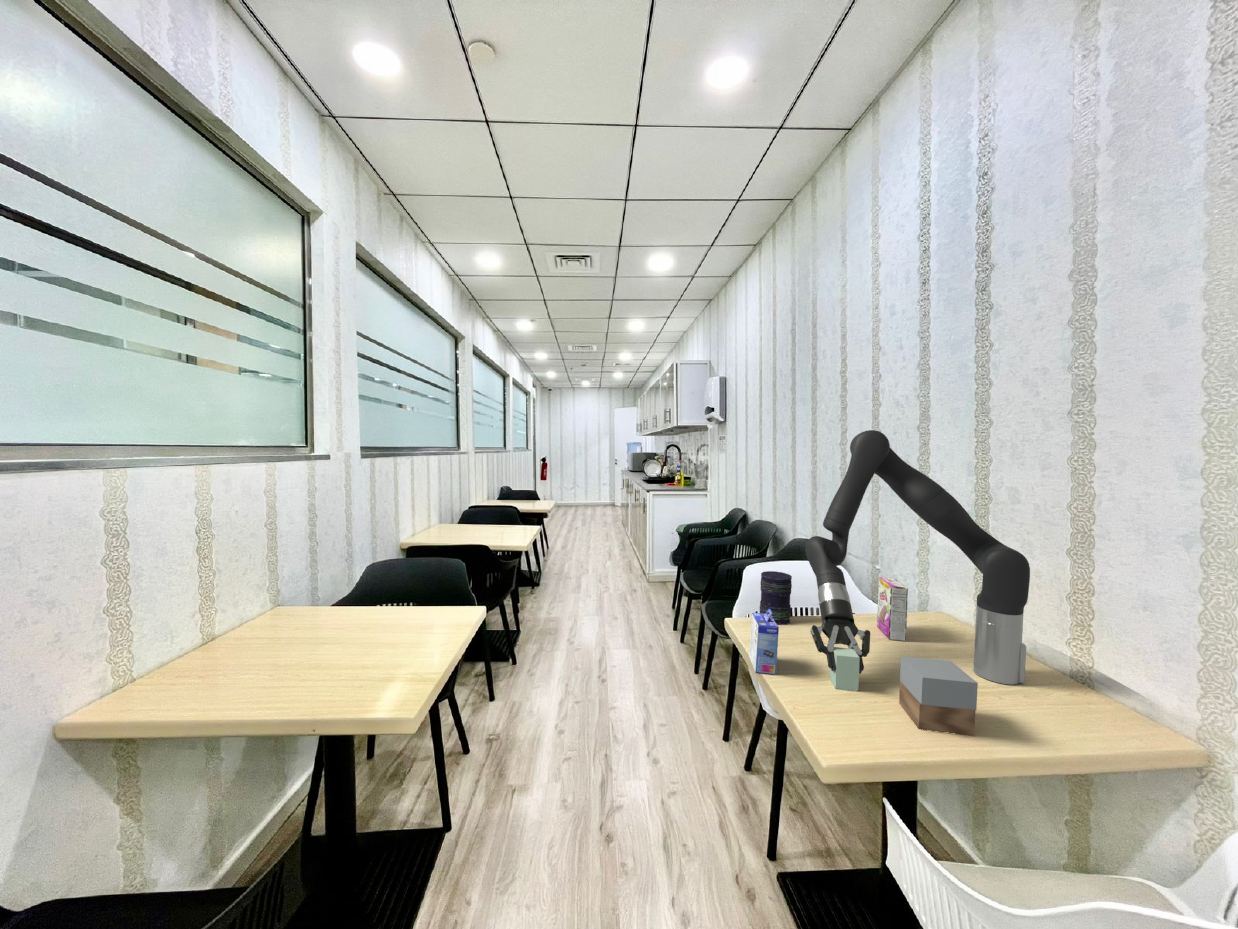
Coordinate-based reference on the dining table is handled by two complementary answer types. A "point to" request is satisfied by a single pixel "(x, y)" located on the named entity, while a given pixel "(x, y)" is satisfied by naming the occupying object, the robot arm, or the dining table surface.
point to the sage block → (845, 669)
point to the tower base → (937, 715)
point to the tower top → (938, 683)
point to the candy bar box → (892, 608)
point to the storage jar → (776, 595)
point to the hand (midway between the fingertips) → (846, 671)
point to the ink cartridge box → (764, 643)
